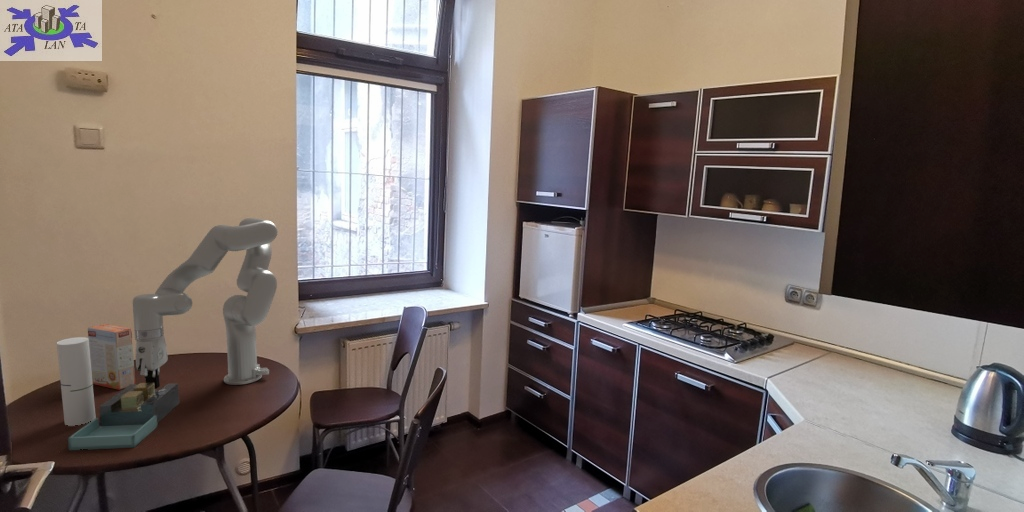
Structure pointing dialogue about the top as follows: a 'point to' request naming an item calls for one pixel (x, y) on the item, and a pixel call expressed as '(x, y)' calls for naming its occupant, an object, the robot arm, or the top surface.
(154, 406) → the tray
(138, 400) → the yellow cube
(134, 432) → the tray
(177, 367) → the top surface
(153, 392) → the yellow wedge block
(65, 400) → the cylindrical container
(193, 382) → the top surface
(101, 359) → the cracker box
